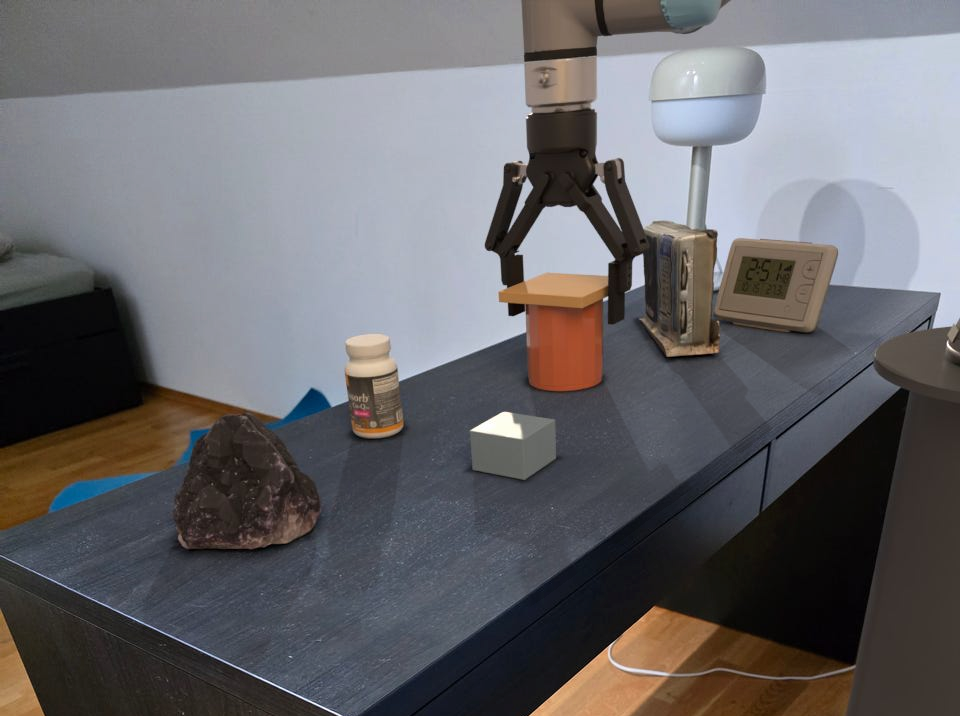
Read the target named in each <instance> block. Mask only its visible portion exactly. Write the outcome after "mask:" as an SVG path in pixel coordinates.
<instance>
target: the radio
mask: <svg viewBox="0 0 960 716" xmlns="http://www.w3.org/2000/svg"><path fill="white" fill-rule="evenodd" d="M643 229H644V232H645V234H646V237H647V240H648V242H649V245H650V248H649V250H648V251H647V252H646V253H643V254H642V258H643V276H644V301H645V314H644V317H643V318H639V321H640V323H641V324H642V325H643V326H644V328H645V329H646V330H647V331H648V333H649V335H650V336H651V338H653V339H654V341H655V343H656V344H657V345H658V347H659V348H660V349H661V351H662V352H663V353H664V355H665V356H666V357H667V358H668V357H670V358H671V357H680V356H694V355H696V356H697V355H707V354H716V353H720V348H719V347H720V342H721V334H720V332H721V331H720V330H721V329H720V320H713V300H714V290H715V287H714V286H715V283H714V277H715V276H714V274H715V266H716V262H717V260H718V259H717V258H718V247H717V245H718V236H719V233H718V231H717V229H713V228H712V229H711V228H707V229H699V228H694V229H692V228H691V227H690V226H688V225H686V224H681V223H676V222H674V221H671V220H656V221H655V220H654V221H652V223H650V224H649V225H646V226H645V227H643Z"/></svg>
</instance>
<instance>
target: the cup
mask: <svg viewBox="0 0 960 716" xmlns="http://www.w3.org/2000/svg"><path fill="white" fill-rule="evenodd" d="M525 331H526V332H525V333H526V358H527V359H526V362H527V378H528V384H529V385H530V386H531V387H533V388H535V389H538V390H542V391H548V392H549V391H550V392H574V391H580V390H584V389H588V388H592V387H594V386H595V387H596V386H597V385H599V384H600V383H601V382H602V380H603V371H604V298H603V299H601V300H599V301H597V302H595V303H593V304H591V305H589V306H586V307H584V308H570V307H557V306H543V305H530V304H525Z"/></svg>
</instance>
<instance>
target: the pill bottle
mask: <svg viewBox="0 0 960 716" xmlns="http://www.w3.org/2000/svg"><path fill="white" fill-rule="evenodd" d="M344 344H345V352H346V354H347V357H349V361H347V363H345V366H344V378H345V386H346V393H347V399H348V400H347V401H348V408H349V415H350V422H351V429H352V432H353V433H354V434H355V435H356V436H357V437H360V438H363V439H367V440H368V439H369V440H371V439H375V440H376V439H383V438H384V439H385V438H390V437H392V436H394V435H397V434H399V433H400V432H401V431H402V430H403V428H404V415H403V414H404V413H403V407H402V406H403V404H402V397H401V396H402V395H401V389H400V379H399V370H398V368H399V367H398V364H397V361H396V360H395V359H394V358H393V357H392V356H390V352H391V349H392V346H391V339H390V337H389V336H388V335H387V334H386V335H385V334H381V333H368V334H359V335H355V336H352V337H350V338H347V339H346V340H345V342H344Z"/></svg>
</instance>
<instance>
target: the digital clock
mask: <svg viewBox="0 0 960 716" xmlns="http://www.w3.org/2000/svg"><path fill="white" fill-rule="evenodd" d="M838 249H839V248H837V246H835V245H832V244H825V243H824V244H823V243H813V242H808V241H796V240H783V239H769V238H745V237H738V238H735V239H734V240H733V241H732V243H731V245H730V248H729V251H728V255H727V259H726V263H725V267H724V270H723V274H722V277H721V281H720V285H719V288H718V289H719V290H718V293H717V297H716V300H715V304H714V309H713V317H714V318H715V319H716V320H718V321H725V322H731V323H732V324H733V325H736V326H737V325H738V326H743V327H751V328H755V329H757V328H758V329H762V330H763V329H765V330H770V331H776V332H784V333H791V332H792V331H793V332H799V333H812V332H814V331H815V330H816V328H817V326H818V324H819V320H820V317H821V314H822V312H823V307H824V304H825V301H826V297H827V294H828V292H829V289H830V284H831V282H832V278H833V274H834V271H835V267H836V264H837V261H838V258H839V257H838V256H839V250H838Z"/></svg>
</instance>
